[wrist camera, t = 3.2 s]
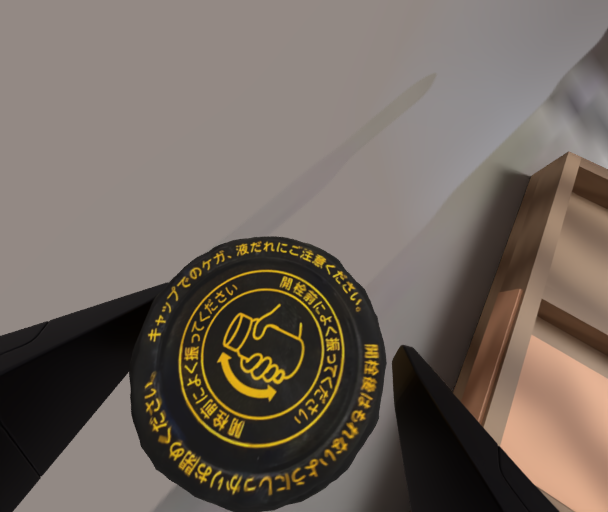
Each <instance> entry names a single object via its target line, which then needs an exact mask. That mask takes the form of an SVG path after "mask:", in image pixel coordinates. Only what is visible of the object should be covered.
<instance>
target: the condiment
mask: <svg viewBox="0 0 608 512" xmlns="http://www.w3.org/2000/svg"><path fill="white" fill-rule="evenodd" d="M386 364H387V363H386V353H385V347H384V342H383V338H382V334H381V331H380V327H379V323H378V318H377V316H376V314H375V312H374V309H373V307H372V304H371V301H370V299H369V297H368V295H367V293H366V291H365V289H364V288H363V287H362V286H361V285H360V284H359V283H357V282H356V281H355V280H354V279H353V277H352V276H351V275H350V274H349V273H348V272H347V271H346V270H345V269H344V267H343V266H342V264H341V263H340V261H339V260H338V259H337V258H335V257H334V256H332V255H331V254H329V253H327V252H326V251H324V250H322V249H320V248H318V247H315V246H313V245H311V244H307V243H303V242H300V241H297V240H294V239H289V238H284V237H253V238H248V239H238V240H233V241H230V242H227V243H224V244H221V245H218V246H216V247H214V248H213V249H212V250H210V251H209V252H207V253H205V254H203V255H201V256H199V257H197V258H195V259H194V260H193V261H191V262H190V263H189V264H188V265H187V266H185V267H184V268H183V269H182V270H181V271H180V272H179V273H178V274H177V275H176V276H175V277H174V278H173V279H172V280H171V281H170V283H169V284H168V285H167V286H166V287H165V288H164V290H162V291H161V292H160V293H159V294H158V295H157V296H156V297H155V299H154V300H153V303H152V305H151V308H150V310H149V312H148V314H147V317H146V319H145V321H144V324H143V326H142V329H141V331H140V334H139V336H138V339H137V341H136V343H135V346H134V349H133V352H132V357H131V361H130V365H129V377H130V385H131V395H130V396H131V397H130V398H131V414H132V418H133V422H134V425H135V428H136V430H137V433H138V436H139V440H140V444H141V447H142V449H143V450H144V451H145V453H146V454H147V455H148V457H149V458H150V460H151V461H152V463H153V464H154V467H155V468H156V470H158V471H160V472H161V473H163V474H164V475H165V476H166V477H167V478H168V479H169V480H171V481H172V482H174V483H176V484H177V485H179V486H180V487H182V488H183V489H185V490H186V491H188V492H189V493H191V494H192V495H193V496H195V497H197V498H199V499H202V500H205V501H207V502H210V503H213V504H216V505H218V506H220V507H223V508H225V509H227V510H230V511H233V512H262V511H271V510H276V509H278V508H280V507H283V506H285V505H288V504H293V503H298V502H302V501H304V500H306V499H307V498H309V497H311V496H313V495H315V494H316V493H318V492H320V491H321V490H323V489H324V488H326V487H327V486H328V485H329V484H330V483H331V482H333V481H335V480H337V479H338V478H339V477H340V476H341V475H342V474H343V473H344V472H345V471H346V470H347V469H348V468H349V467H350V465H351V464H352V462H353V460H354V458H355V457H356V455H357V453H358V452H359V450H360V449H361V448H362V446H363V445H364V443H365V441H366V440H367V438H368V437H369V435H370V434H371V433H372V431H373V430H374V428H375V426H376V424H377V421H378V419H379V409H380V402H381V396H382V391H383V384H384V375H385V368H386Z"/></svg>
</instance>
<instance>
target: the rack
mask: <svg viewBox="0 0 608 512" xmlns="http://www.w3.org/2000/svg"><path fill="white" fill-rule="evenodd" d="M453 393H454V395H455V396H456V397H457V398H458V399H459V400H460V401H461V403H462V404H463V405H464V406H465V407H466V408H467V409H468V410H469V412H470V413H471V414H472V415H473V416H474V417H475V418H476V420H477V421H478V422H479V423H480V424H481V425H482V426H483V428H484V429H485V430H486V431H487V432H488V433H489V434H490V436H491V437H492V438H493V439H494V440H495V441H496V442H497V444H498V446H500V447H501V448H502V449H503V450H504V451H505V452H506V454H507V455H508V456H509V457H510V458H511V459H512V460H513V462H514V463H515V464H516V465H517V466H518V467H519V468H520V469H521V470H522V472H523V473H524V474H525V475H526V476H527V477H528V478H529V479H530V480H531V482H532V483H533V484H534V485H535V486H536V487H537V488H538V489H539V490H540V491H541V492H542V493H543V494H544V495H545V496H546V497H547V499H548V500H549V501H550V502H551V503H552V504H553V505H554V506H555V507H556V508H557V509H558V510H559V511H560V512H608V169H606V168H604V167H601V166H599V165H597V164H595V163H593V162H591V161H588V160H586V159H584V158H582V157H580V156H578V155H576V154H573V153H571V152H567V153H566V154H564V155H563V156H561V157H559V158H558V159H556V160H555V161H553V162H552V163H550V164H549V165H547V166H546V167H544V168H543V169H541V170H540V171H538V172H536V173H535V174H533V175H532V176H531V178H530V181H529V184H528V187H527V189H526V192H525V195H524V198H523V200H522V203H521V206H520V209H519V211H518V214H517V217H516V220H515V223H514V225H513V228H512V231H511V234H510V236H509V239H508V242H507V245H506V247H505V250H504V253H503V256H502V258H501V261H500V264H499V267H498V270H497V272H496V275H495V278H494V281H493V283H492V286H491V289H490V292H489V294H488V297H487V300H486V303H485V305H484V308H483V311H482V314H481V317H480V319H479V322H478V325H477V328H476V330H475V333H474V336H473V339H472V341H471V344H470V347H469V350H468V352H467V355H466V358H465V361H464V364H463V366H462V369H461V372H460V375H459V377H458V380H457V383H456V386H455V388H454V391H453ZM410 512H411V510H410Z"/></svg>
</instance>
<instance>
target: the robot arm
mask: <svg viewBox="0 0 608 512" xmlns="http://www.w3.org/2000/svg"><path fill="white" fill-rule="evenodd" d="M168 284H169V283H164V284H161V285H158V286H155V287H152V288H148V289H145V290H142V291H139V292H136V293H133V294H130V295H127V296H124V297H121V298H118V299H114V300H111V301H108V302H105V303H102V304H99V305H96V306H93V307H90V308H87V309H84V310H80V311H77V312H74V313H71V314H68V315H65V316H62V317H59V318H56V319H53V320H50V321H49V322H48V321H47V322H43V323H40V324H37V325H34V326H31V327H28V328H24V329H21V330H18V331H15V332H12V333H8V334H5V335H2V336H0V512H13V511H14V509H15V508H16V507H17V506H18V505H19V503H20V502H21V501H22V500H23V499H24V497H25V496H26V495H27V494H28V493H29V491H30V490H31V489H32V488H33V487H34V485H35V484H36V483H37V482H38V481H39V479H40V476H42V475H43V474H44V473H45V472H46V471H47V470H48V468H49V467H50V466H51V465H52V464H53V462H54V461H55V460H56V459H57V457H58V456H59V455H60V454H61V453H62V452H63V450H64V449H65V448H66V447H67V446H68V444H69V443H70V442H71V441H72V439H73V438H74V437H75V436H76V435H77V433H78V432H79V431H80V430H81V429H82V427H83V426H84V425H85V424H86V423H87V421H88V420H89V419H90V418H91V417H92V415H93V414H94V413H95V412H96V411H97V409H98V408H99V407H100V406H101V405H102V403H103V402H104V401H105V400H106V399H107V397H108V396H109V395H110V394H111V393H112V391H113V390H114V389H115V387H117V385H118V384H119V383H120V382H121V381H122V379H123V378H124V377H125V376H126V374H127V373H128V372H129V365H130V361H131V357H132V352H133V349H134V346H135V343H136V341H137V339H138V336H139V334H140V331H141V329H142V326H143V324H144V321H145V319H146V317H147V314H148V312H149V310H150V308H151V305H152V303H153V300H154V299H155V297H156V296H157V295H158V294H159V293H160V292H161V291H162V290H164V288H165V287H166V286H167V285H168ZM392 373H393V391H394V405H395V413H396V419H397V425H398V431H399V438H400V444H401V450H402V456H403V463H404V469H405V475H406V481H407V488H408V494H409V500H410V506H411V512H560V511H559V510H558V509H557V508H556V507H555V506H554V505H553V504H552V503H551V502H550V501H549V500H548V499H547V497H546V496H545V495H544V494H543V493H542V492H541V491H540V490H539V489H538V488H537V487H536V486H535V485H534V484H533V483H532V482H531V480H530V479H529V478H528V477H527V476H526V475H525V474H524V473H523V472H522V470H521V469H520V468H519V467H518V466H517V465H516V464H515V463H514V462H513V460H512V459H511V458H510V457H509V456H508V455H507V454H506V452H505V451H504V450H503V449H502V448H501V447H500V446H498V444H497V442H496V441H495V440H494V439H493V438H492V437H491V436H490V434H489V433H488V432H487V431H486V430H485V429H484V428H483V426H482V425H481V424H480V423H479V422H478V421H477V420H476V418H475V417H474V416H473V415H472V414H471V413H470V412H469V410H468V409H467V408H466V407H465V406H464V405H463V404H462V403H461V401H460V400H459V399H458V398H457V397H456V396H455V395H454V393H453V392H452V391H451V390H450V389H449V388H448V387H447V385H446V384H445V383H444V382H443V381H442V380H441V379H440V377H439V376H438V375H437V374H436V373H435V372H434V371H433V370H432V368H431V367H430V366H429V365H428V364H427V363H426V362H425V360H424V359H423V358H422V357H421V356H420V355H419V354H418V352H417V351H416V350H415V349H414V348H413V347H410V346H406V345H401V346H400V347H399V349H398V351H397V353H396V354H395V356H394V358H393V361H392Z"/></svg>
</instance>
